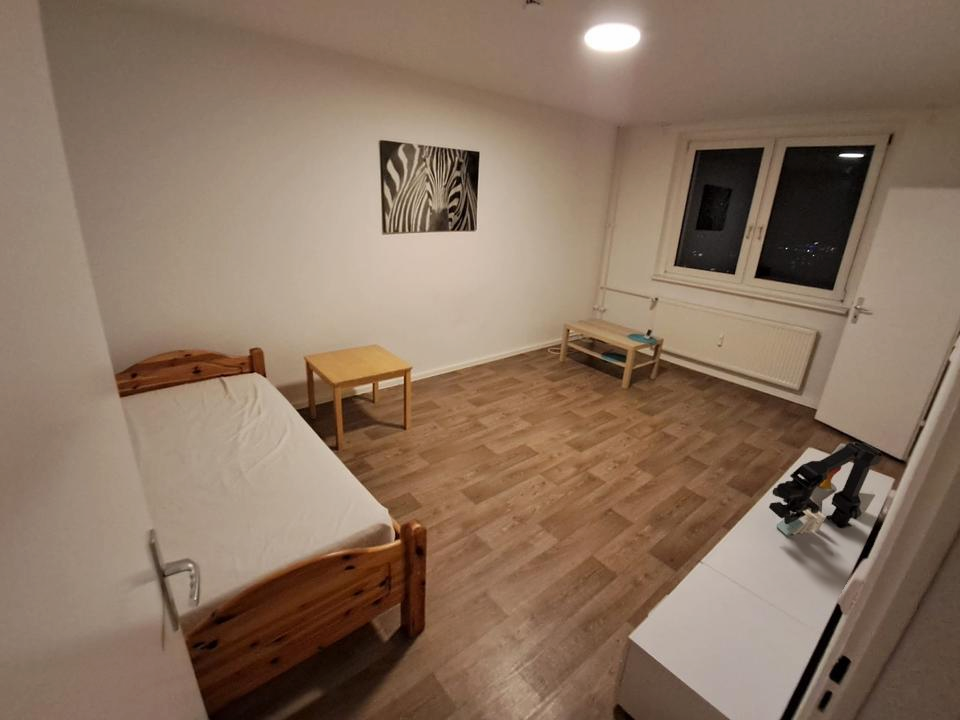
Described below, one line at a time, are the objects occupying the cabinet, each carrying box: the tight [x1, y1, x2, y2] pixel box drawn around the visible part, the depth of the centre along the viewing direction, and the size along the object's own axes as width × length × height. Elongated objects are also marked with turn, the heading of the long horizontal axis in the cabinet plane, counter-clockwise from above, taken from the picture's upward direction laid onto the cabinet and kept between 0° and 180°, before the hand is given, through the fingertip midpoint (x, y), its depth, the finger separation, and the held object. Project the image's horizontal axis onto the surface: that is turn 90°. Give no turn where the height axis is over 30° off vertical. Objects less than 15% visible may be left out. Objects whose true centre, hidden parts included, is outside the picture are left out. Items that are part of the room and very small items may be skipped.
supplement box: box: [859, 483, 876, 518], centre depth 190 cm, size 7×7×13 cm
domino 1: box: [775, 518, 804, 537], centre depth 176 cm, size 2×5×8 cm
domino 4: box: [804, 509, 818, 534], centre depth 178 cm, size 2×5×8 cm, turn 14°
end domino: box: [810, 511, 827, 533], centre depth 179 cm, size 2×5×8 cm, turn 14°
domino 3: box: [798, 511, 814, 535], centre depth 177 cm, size 2×5×8 cm, turn 16°
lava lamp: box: [808, 443, 847, 514], centre depth 182 cm, size 9×9×35 cm
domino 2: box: [791, 516, 810, 536], centre depth 177 cm, size 2×5×8 cm
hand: (786, 523), depth 175 cm, fingers closed
